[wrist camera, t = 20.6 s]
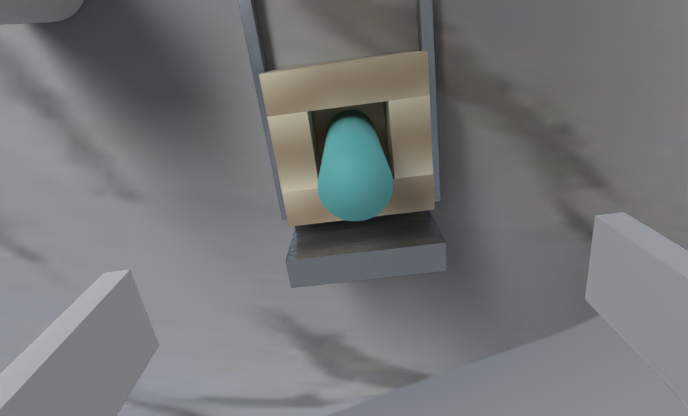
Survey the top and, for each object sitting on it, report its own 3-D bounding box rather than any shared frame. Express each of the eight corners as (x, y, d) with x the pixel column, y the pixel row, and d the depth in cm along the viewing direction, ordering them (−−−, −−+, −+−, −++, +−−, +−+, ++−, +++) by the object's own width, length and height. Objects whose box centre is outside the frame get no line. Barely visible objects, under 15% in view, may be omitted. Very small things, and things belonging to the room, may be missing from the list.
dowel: (331, 158, 30) (323, 225, 19) (324, 113, 28) (311, 154, 17) (376, 153, 30) (396, 216, 18) (371, 106, 28) (390, 144, 17)
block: (272, 70, 28) (258, 74, 24) (413, 51, 28) (427, 51, 23) (296, 201, 32) (288, 226, 27) (421, 186, 31) (434, 209, 27)
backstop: (222, -100, 25) (169, -164, 17) (422, -132, 24) (457, -212, 17) (288, 235, 33) (273, 290, 26) (438, 218, 33) (465, 268, 25)
